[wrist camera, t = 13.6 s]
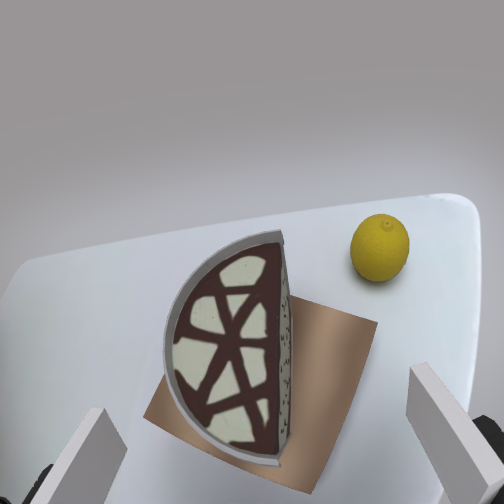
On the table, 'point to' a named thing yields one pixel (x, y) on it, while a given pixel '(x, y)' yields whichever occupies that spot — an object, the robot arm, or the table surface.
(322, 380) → the square wooden plinth
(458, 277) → the table surface
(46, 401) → the table surface
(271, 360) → the food container
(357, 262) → the lemon
